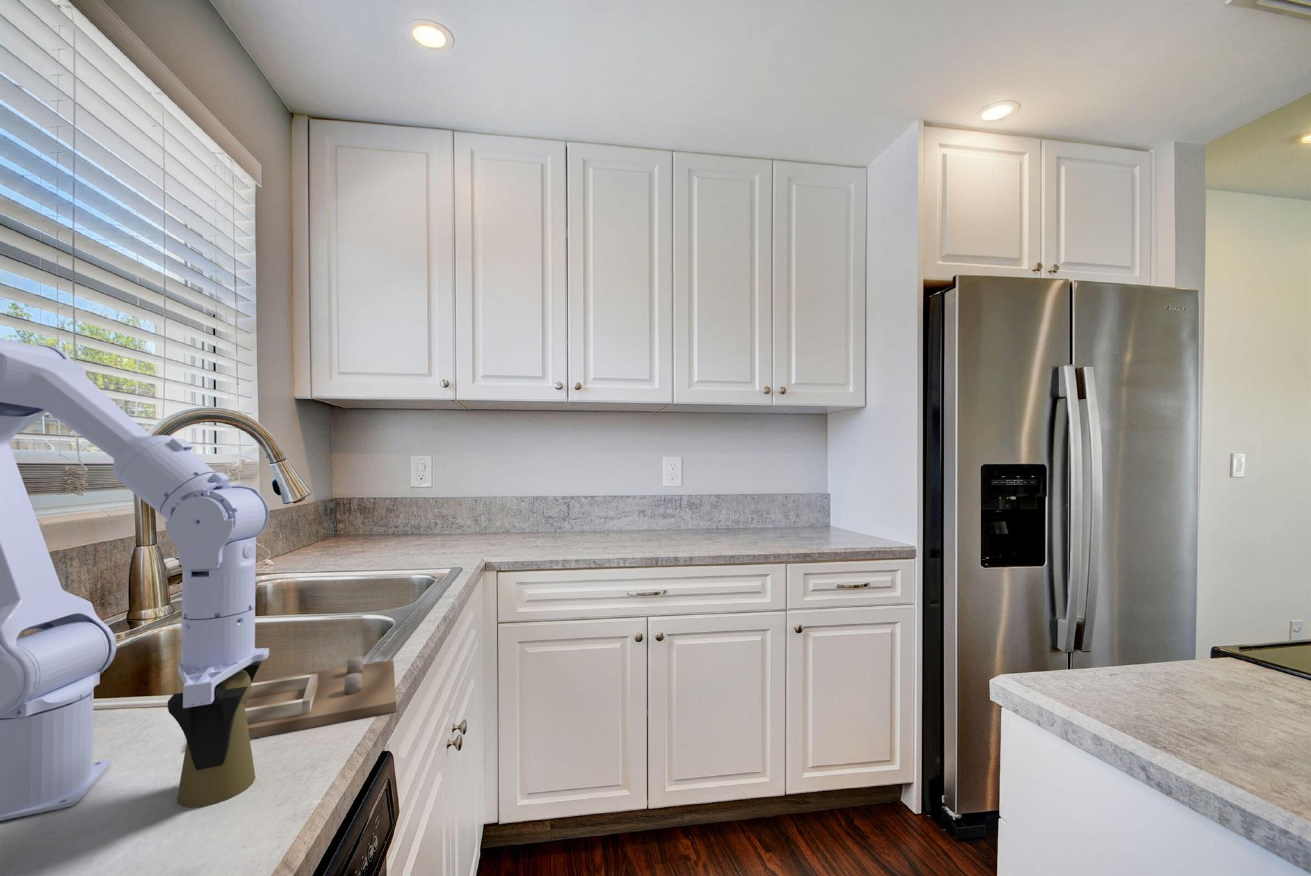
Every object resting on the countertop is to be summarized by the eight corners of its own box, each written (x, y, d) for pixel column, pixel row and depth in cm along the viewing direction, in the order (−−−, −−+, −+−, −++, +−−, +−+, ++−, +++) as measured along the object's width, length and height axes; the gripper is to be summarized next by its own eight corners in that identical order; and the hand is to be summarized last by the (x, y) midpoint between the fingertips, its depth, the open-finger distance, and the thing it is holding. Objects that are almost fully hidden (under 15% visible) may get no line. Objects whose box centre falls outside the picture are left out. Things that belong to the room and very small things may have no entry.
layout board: (196, 748, 62) (196, 719, 62) (230, 693, 77) (230, 669, 77) (396, 711, 71) (396, 685, 71) (393, 667, 85) (393, 646, 85)
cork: (162, 811, 51) (164, 689, 52) (196, 775, 57) (198, 665, 57) (239, 800, 53) (241, 681, 53) (265, 766, 59) (266, 659, 59)
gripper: (254, 625, 51) (252, 779, 50) (280, 590, 64) (278, 712, 63) (152, 637, 48) (150, 801, 47) (201, 597, 61) (200, 726, 60)
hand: (217, 751), depth 55 cm, fingers closed on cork, 5 cm apart
